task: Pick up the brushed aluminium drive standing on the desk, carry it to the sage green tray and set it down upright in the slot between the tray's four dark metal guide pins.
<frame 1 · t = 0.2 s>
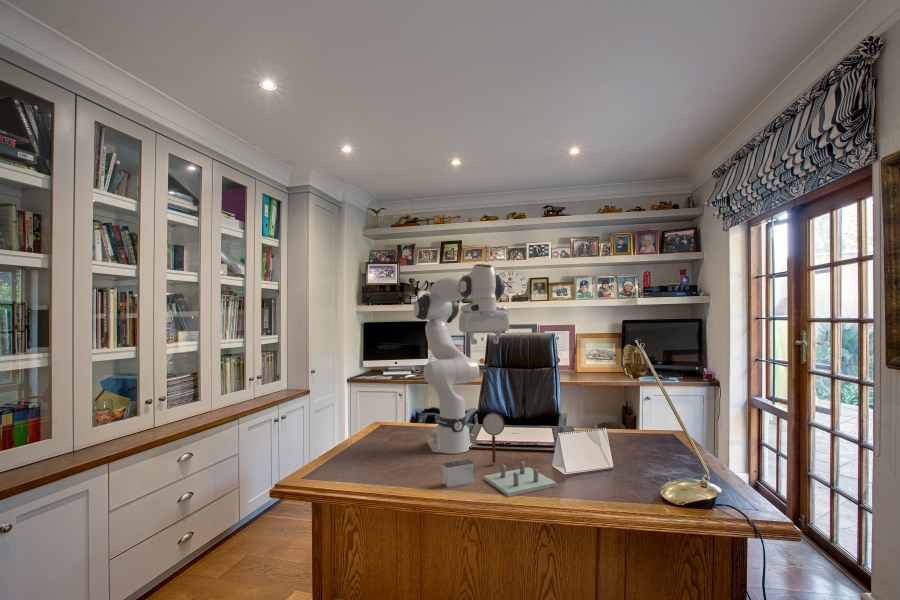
hand: (485, 343, 156), 47 cm above the table, tool pointing down, fingers open, 8 cm apart
drive: (458, 483, 145), on the table
pin tray: (519, 482, 144), on the table
magnifying glass: (494, 465, 162), on the table
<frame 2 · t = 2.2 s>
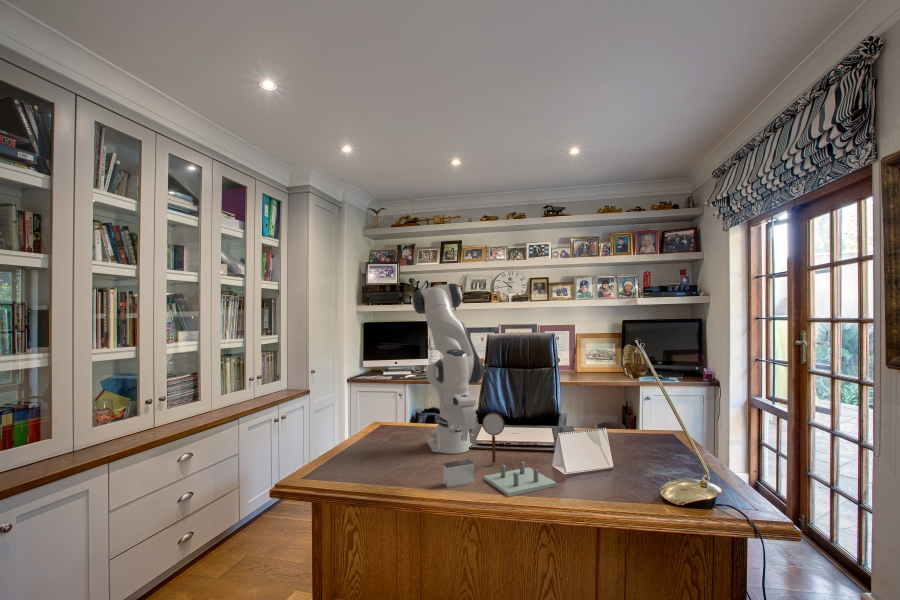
hand: (458, 437, 145), 16 cm above the table, tool pointing down, fingers open, 8 cm apart
nothing on the table moved.
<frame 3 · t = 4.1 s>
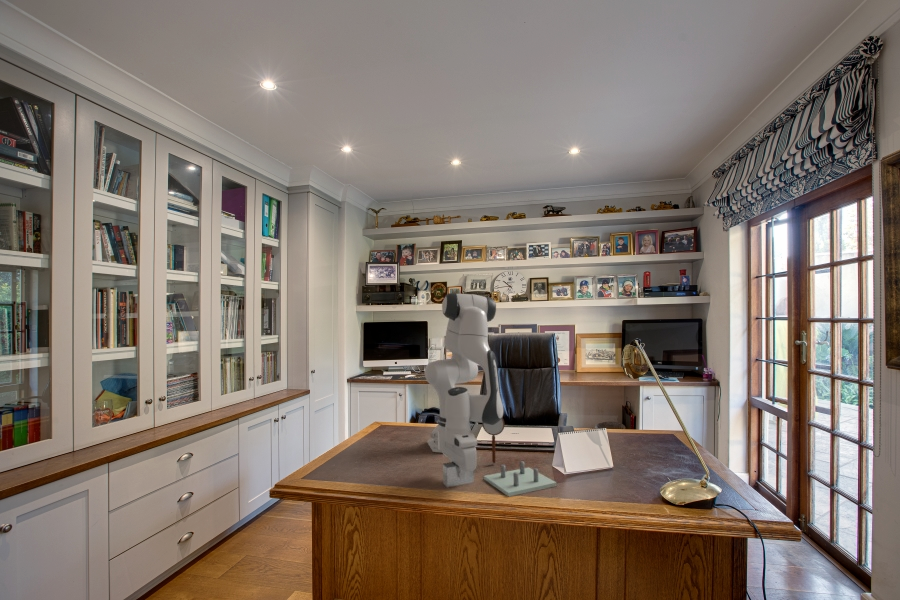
hand: (458, 475, 145), 2 cm above the table, tool pointing down, fingers closed on drive, 4 cm apart
drive: (458, 483, 145), on the table, touching gripper
everything else where it was.
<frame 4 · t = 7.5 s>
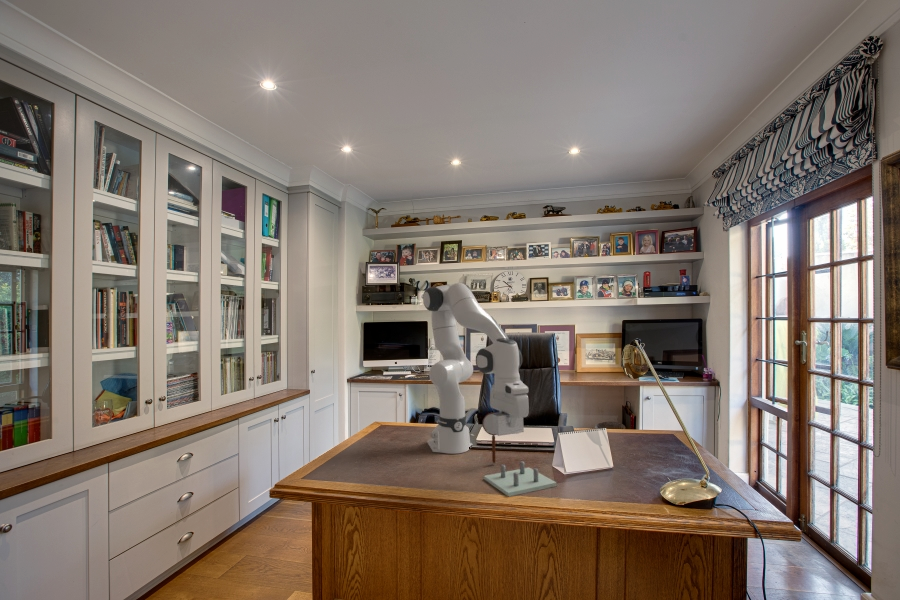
hand: (508, 425, 145), 20 cm above the table, tool pointing down, fingers closed on drive, 3 cm apart
drive: (508, 432, 145), point 17 cm above the table, touching gripper
everything else where it was.
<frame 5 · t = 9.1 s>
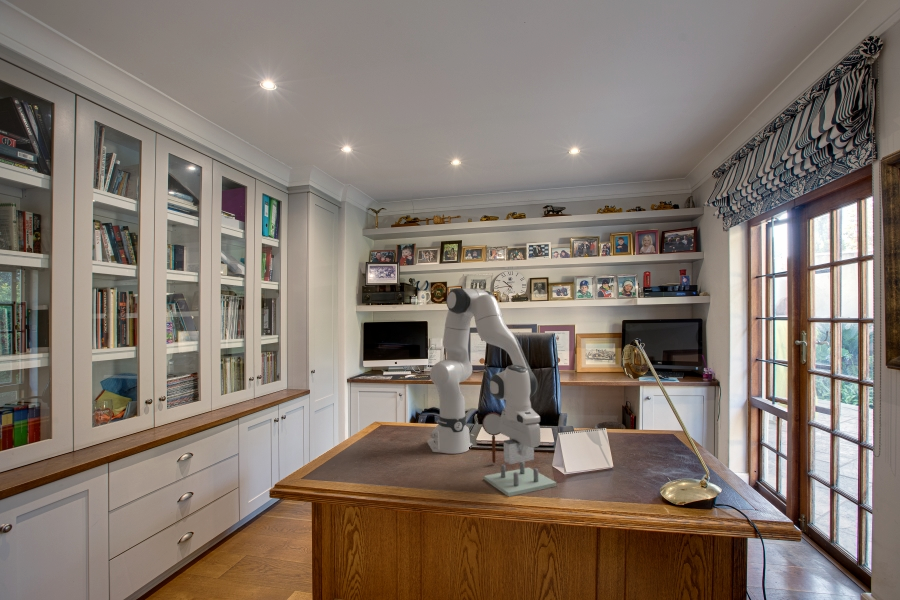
hand: (518, 453, 145), 10 cm above the table, tool pointing down, fingers closed on drive, 3 cm apart
drive: (519, 460, 145), point 8 cm above the table, touching gripper
everything else where it was.
when the fingers open (5 cm above the table, at t = 10.4 s): drive drops 1 cm, resting on pin tray.
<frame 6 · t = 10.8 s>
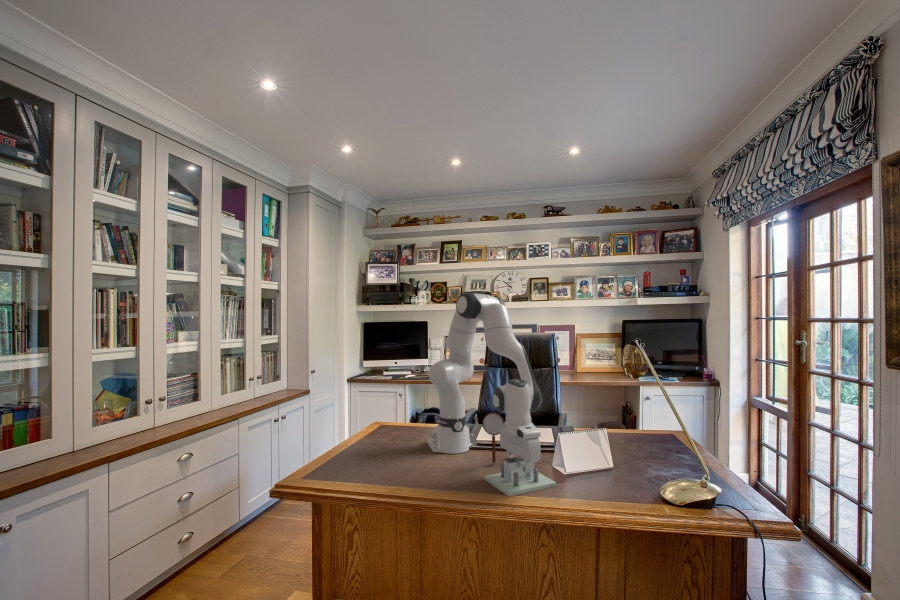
hand: (519, 467, 145), 5 cm above the table, tool pointing down, fingers open, 8 cm apart
drive: (519, 479, 145), point 1 cm above the table, touching pin tray
everything else where it was.
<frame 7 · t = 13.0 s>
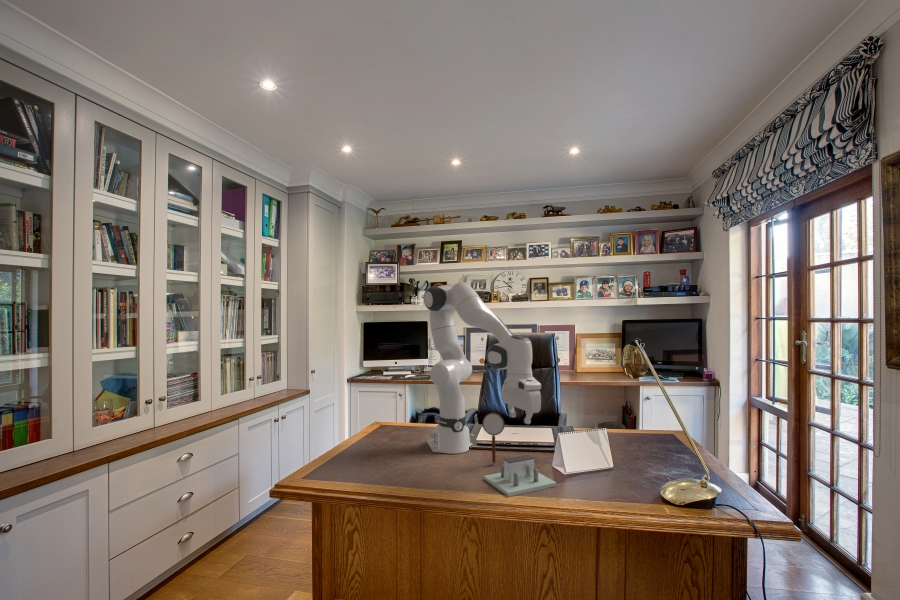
hand: (519, 420, 149), 20 cm above the table, tool pointing down, fingers open, 8 cm apart
nothing on the table moved.
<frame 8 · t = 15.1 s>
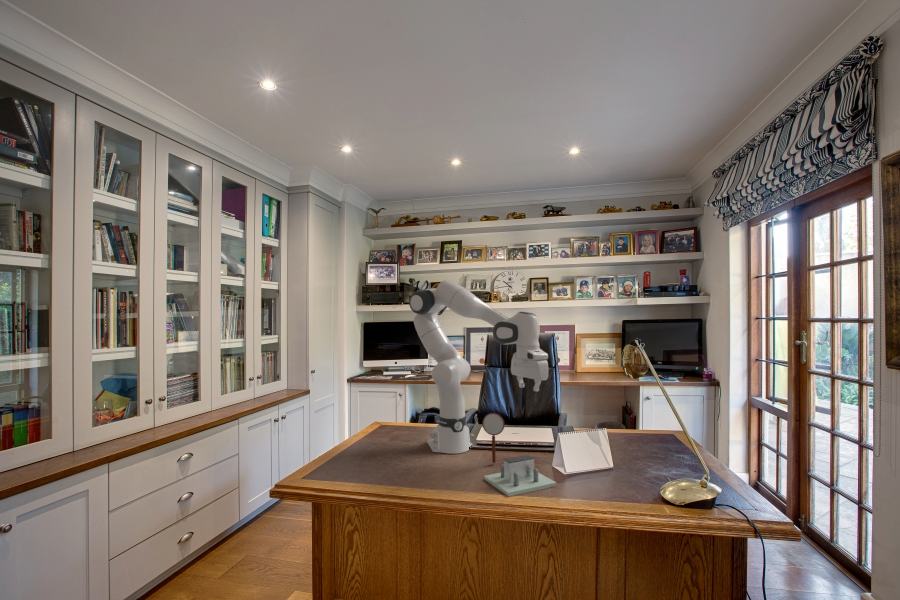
hand: (528, 389, 162), 29 cm above the table, tool pointing down, fingers open, 8 cm apart
nothing on the table moved.
at the end: drive 0.0 cm off-centre on the pin tray, point 1.2 cm above the pin tray's base; drive tilted 0°; the gripper is holding nothing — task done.
